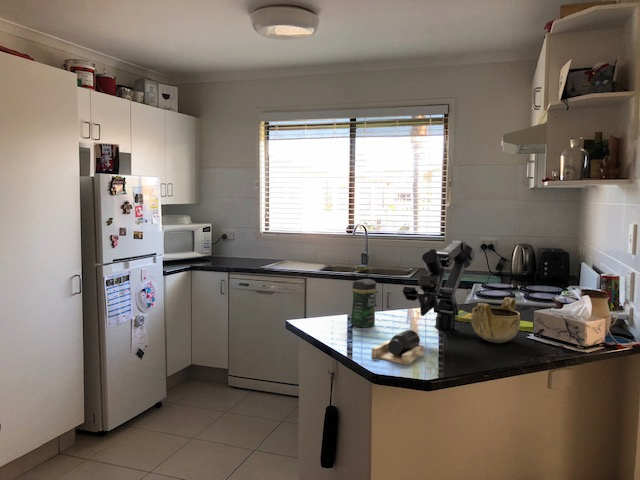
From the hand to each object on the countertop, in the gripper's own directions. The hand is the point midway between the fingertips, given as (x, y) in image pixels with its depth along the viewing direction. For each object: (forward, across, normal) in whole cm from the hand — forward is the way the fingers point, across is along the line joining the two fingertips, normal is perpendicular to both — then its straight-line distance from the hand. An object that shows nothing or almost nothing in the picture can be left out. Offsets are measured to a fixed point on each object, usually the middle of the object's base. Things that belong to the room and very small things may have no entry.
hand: (421, 315), depth 184 cm
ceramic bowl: (-6, +20, +21) cm, 30 cm away
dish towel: (-25, +14, +42) cm, 50 cm away
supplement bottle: (+12, +1, -4) cm, 13 cm away
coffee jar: (+1, -28, +14) cm, 32 cm away
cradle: (+21, 0, -7) cm, 22 cm away
